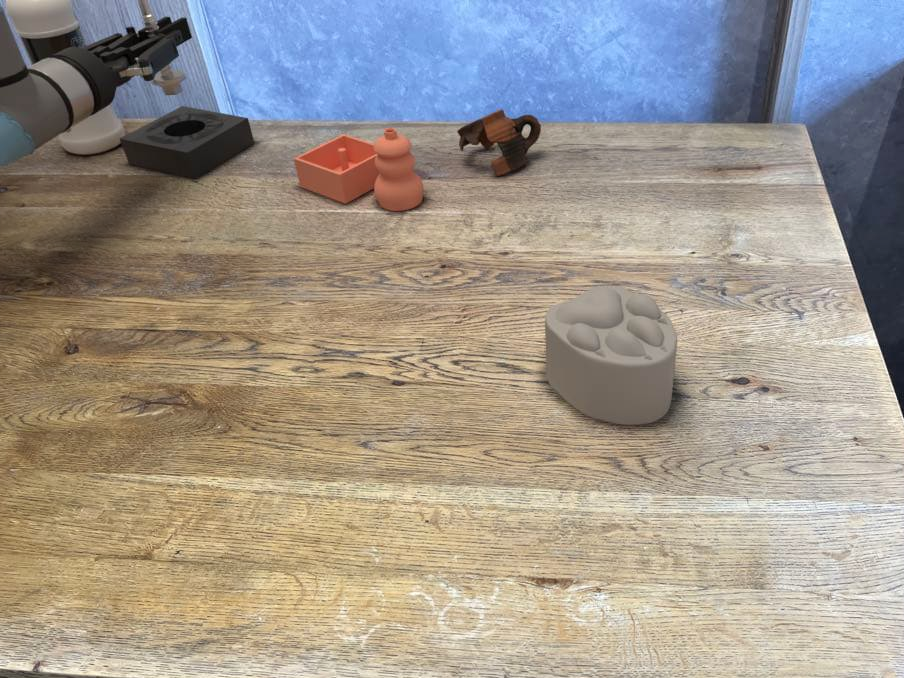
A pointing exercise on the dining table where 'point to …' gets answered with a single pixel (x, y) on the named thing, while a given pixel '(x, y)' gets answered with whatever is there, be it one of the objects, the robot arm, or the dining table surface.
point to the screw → (167, 76)
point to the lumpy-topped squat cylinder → (612, 355)
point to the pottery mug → (502, 138)
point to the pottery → (363, 170)
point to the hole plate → (187, 141)
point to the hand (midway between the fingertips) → (178, 27)
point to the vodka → (48, 32)
